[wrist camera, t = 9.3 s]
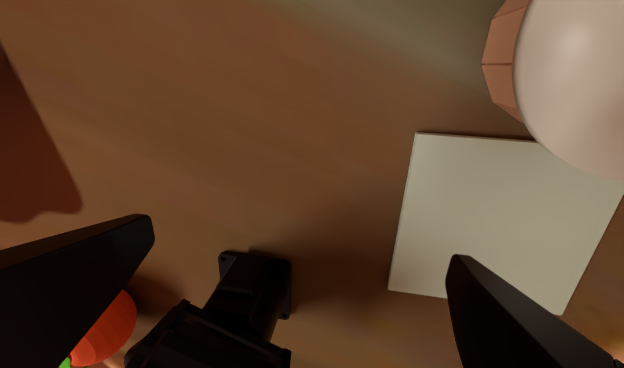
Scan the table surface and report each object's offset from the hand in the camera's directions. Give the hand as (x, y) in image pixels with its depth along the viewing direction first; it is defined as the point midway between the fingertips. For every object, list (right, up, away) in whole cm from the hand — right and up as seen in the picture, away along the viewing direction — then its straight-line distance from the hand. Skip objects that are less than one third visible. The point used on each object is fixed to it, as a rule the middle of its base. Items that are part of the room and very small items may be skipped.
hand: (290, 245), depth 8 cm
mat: (+14, -1, +12) cm, 19 cm away
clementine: (-19, -10, +22) cm, 31 cm away
